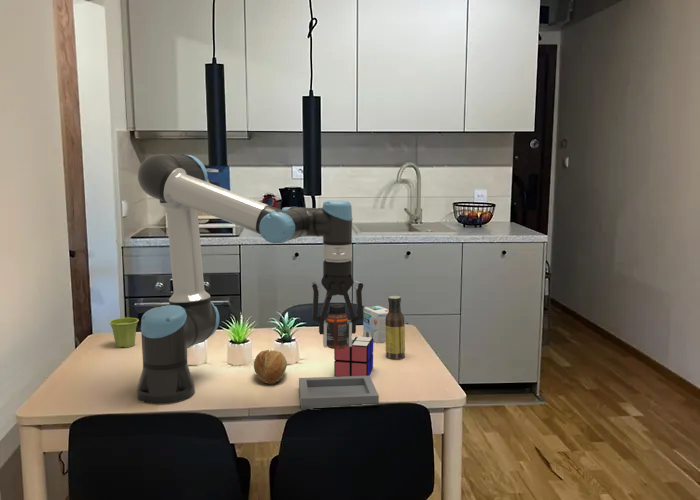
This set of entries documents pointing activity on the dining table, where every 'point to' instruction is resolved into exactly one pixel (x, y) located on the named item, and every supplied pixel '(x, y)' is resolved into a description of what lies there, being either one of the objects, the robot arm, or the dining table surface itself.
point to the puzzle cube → (354, 358)
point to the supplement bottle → (337, 327)
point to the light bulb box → (375, 323)
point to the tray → (336, 391)
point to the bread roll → (270, 366)
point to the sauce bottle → (395, 330)
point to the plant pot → (124, 331)
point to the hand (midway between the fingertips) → (337, 345)
